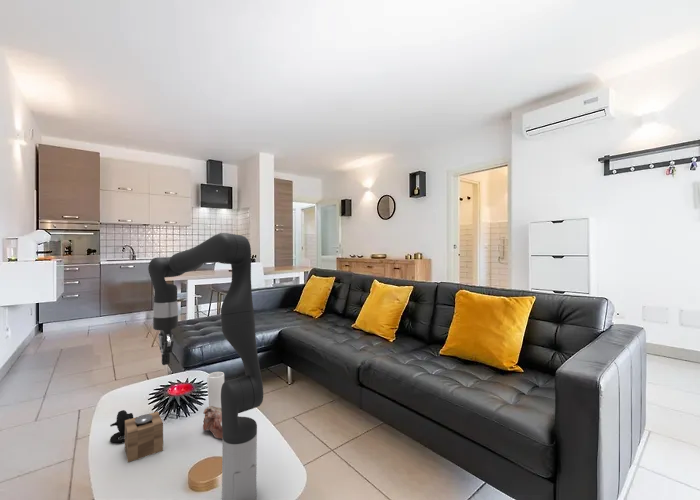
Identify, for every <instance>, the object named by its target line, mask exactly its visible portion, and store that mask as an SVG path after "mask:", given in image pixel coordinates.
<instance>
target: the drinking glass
mask: <svg viewBox="0 0 700 500" xmlns="http://www.w3.org/2000/svg"><path fill="white" fill-rule="evenodd" d="M206 379H207V380H206V381H207V382H206V384H207V385H206V387H207V396H208V398H207V399H208V407H210V406H214V407H219V408H221V388H222V385H223V383H224V382H225V373H224V372H222V371H214V372H210V373H209V374H207V378H206Z"/></svg>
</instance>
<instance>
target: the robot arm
mask: <svg viewBox="0 0 700 500" xmlns="http://www.w3.org/2000/svg"><path fill="white" fill-rule="evenodd" d="M208 263H219V264H224V265H230V266H231V282H230V286H229V288H228V289H227V290H228V291H227V292H226V295H225V297H224V298H223V301H222V304H221V307H220V320H221V330H222V334H223V336H224V338H225V340H226V341H228V343H229V344H230V346H231V347H232V348H233V350H235V352H236V353H237V355H238V356H239V357H240V360H241V361H242V364H243V368H244V373H245V375H243V376H239V377H236V378H235V377H234V378H231V379H228V380H224V383H223V385H222V388H221V411H222V432H223V438H222V456H221V457H222V459H221V460H222V461H221V462H222V463H221V465H222V466H221V468H222V469H221V470H222V471H221V474H222V475H221V500H257V482H258V481H257V477H258V476H257V474H258V473H257V472H258V471H257V470H258V469H257V468H258V467H257V464H258V462H257V459H258V457H257V456H258V447H257V446H258V424H257V421H256V420H255V419H253V418H251V417H249V416H239V414H241V413H244V412H247V411H249V410H250V411H251V410H253V409H256V408H258V407H260V406H261V405H262V404H263V401H264V385H263V384H264V383H263V379H262V373H261V367H260V360H259V355H258V354H259V353H258V345H257V336H256V321H255V312H254V302H253V292H252V288H253V287H252V248H251V244H250V241H249V240H248V238H247V237H246V236H244V235H241V234H235V233H229V232H219V233H217V234H215V235H213V236H211V237H210V238H207V240H206V239H205V240H204V241H203V242H201V243H199V244H198V245H196V246H194V247H192V248H189V249H186V250H183V251H179V252H177V253H174V254H172V256H165V257H161V256H160V257H154V258H152V259H151V260H150V262H149V263H148V267H147V270H148V274H149V278H150V279H151V280H150V281H151V283H152V287H153V291H154V293H153V295H154V296H153V297H154V298H153V307H152V308H153V309H152V310H153V311H152V312H153V313H152V315H153V318H152V319H153V320H152V327H153V328H152V329H153V330H155V331H159V333H158V342H159V343H158V346H159V350H160V353H161V365H162V366H167V365H170V361H171V360H170V354H171V353H172V352H173V351H172V350H173V347H174V340H173V338H174V333H172V330H173V329H176V328H178V327H179V306H178V286H177V285H176V284H174V283H167V282H166V279H165V278H174V277H179V276H182V275H183V274H185V273H189V272H192V271H195V270H198V269H199V268H201V267H202V266H203V264H208Z"/></svg>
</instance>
